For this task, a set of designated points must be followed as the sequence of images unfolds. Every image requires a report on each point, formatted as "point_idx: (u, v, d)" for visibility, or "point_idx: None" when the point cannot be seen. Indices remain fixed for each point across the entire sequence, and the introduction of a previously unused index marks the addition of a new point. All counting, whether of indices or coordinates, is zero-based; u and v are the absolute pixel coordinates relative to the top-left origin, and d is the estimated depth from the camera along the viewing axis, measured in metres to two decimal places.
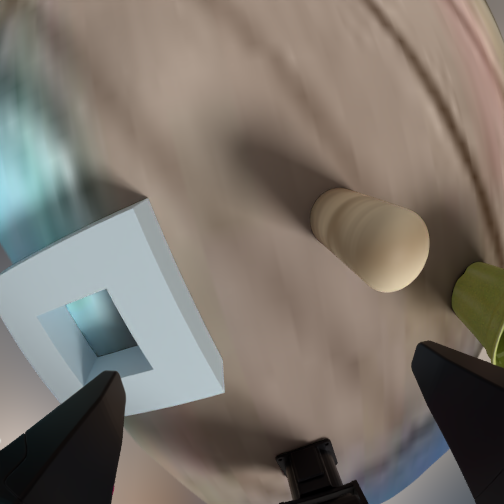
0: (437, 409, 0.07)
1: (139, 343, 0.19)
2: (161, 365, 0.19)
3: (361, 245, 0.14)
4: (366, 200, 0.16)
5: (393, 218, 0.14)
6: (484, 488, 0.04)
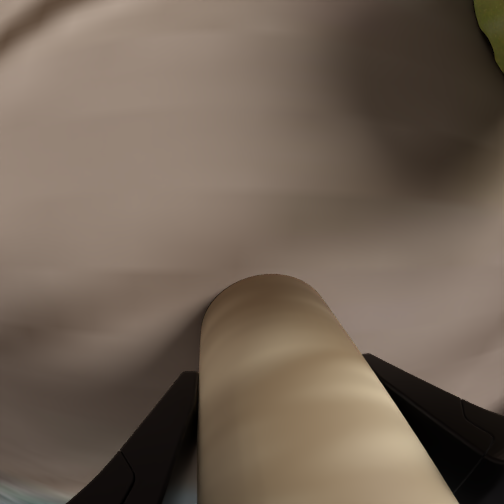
0: None
1: None
2: None
3: None
4: (197, 471, 0.05)
5: None
6: None
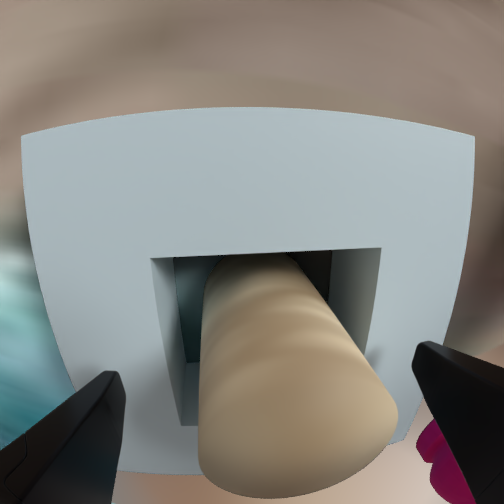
0: (437, 409, 0.07)
1: (309, 245, 0.08)
2: (379, 225, 0.08)
3: (254, 495, 0.06)
4: (199, 380, 0.08)
5: (222, 458, 0.05)
6: (484, 489, 0.04)
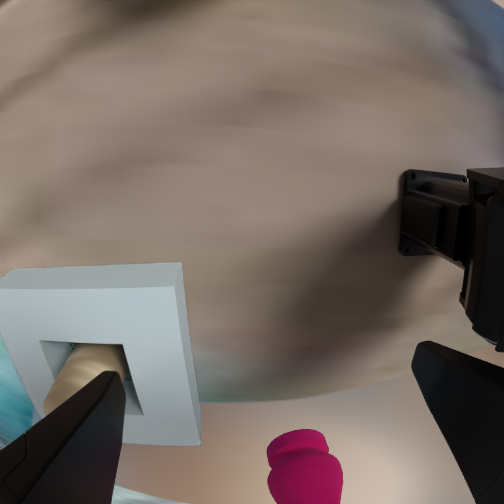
0: (437, 409, 0.07)
1: (89, 341, 0.17)
2: (118, 335, 0.17)
3: None
4: None
5: None
6: (484, 488, 0.04)
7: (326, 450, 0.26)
